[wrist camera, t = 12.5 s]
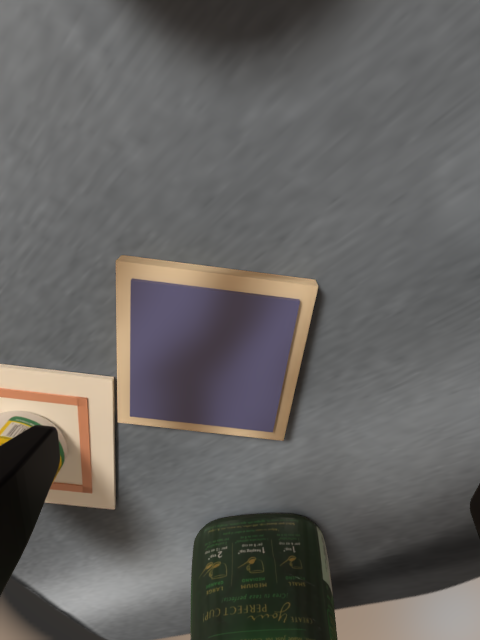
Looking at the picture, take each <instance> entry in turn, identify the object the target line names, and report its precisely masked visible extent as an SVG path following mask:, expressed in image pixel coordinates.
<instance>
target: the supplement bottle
mask: <svg viewBox="0 0 480 640" xmlns="http://www.w3.org/2000/svg"><path fill="white" fill-rule="evenodd" d="M34 425H44V426H53V427H55V428H56V429H57V431H58V438H59V449H60V463H59V467H58V470H57V472H56V475H55V477H54V480H55V478H56V476H57V475H58V473H59V471H60V469H61V468H62V466H63V464H64V462H65V460H66V457H67V451H68V450H67V444H66V441H65V438H64V436H63V434H62V433H61V431H60V430H59V429H58V428H57V427H56V426H55V425H54V424H53V423H52V422H50V421H49V420H47V419H46V418H44V417H42V416H40V415H38V414H35V413H31V412H27V411H7V412H3V413H0V445H2V444H4V443H5V442H7V441H9V440H10V439H12V438H14V437H15V436H17V435H19V434H20V433H22V432H24V431H25V430H27V429H29V428H30V427H32V426H34ZM54 480H53V482H54ZM53 482H52V483H53Z"/></svg>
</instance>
